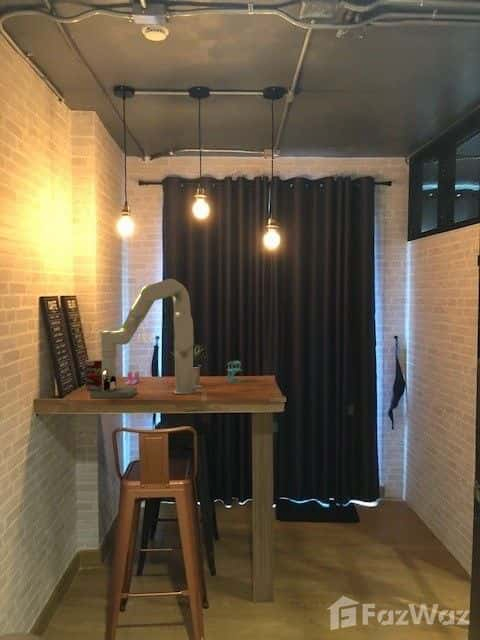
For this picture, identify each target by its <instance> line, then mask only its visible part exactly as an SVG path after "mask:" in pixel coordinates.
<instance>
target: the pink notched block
mask: <svg viewBox="0 0 480 640" xmlns="http://www.w3.org/2000/svg"><path fill="white" fill-rule="evenodd" d="M132 372H133V371H132V370H128V371H127V381H126V382H124V387H134V386H135V385H136V383H137V384H138V383H139V382H140V379H139V378H140V374H139V370H135V371H134V379H133V378H132V377H133V374H132Z"/></svg>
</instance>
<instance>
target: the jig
mask: <svg viewBox="0 0 480 640" xmlns="http://www.w3.org/2000/svg"><path fill="white" fill-rule="evenodd" d="M137 393H138V387H137V386H115V390H113V391H105V390H104V386H102V387H99V388H97V389H93V390H91V391H89V399H130V398H132V397H133V396H135V395H136V394H137Z"/></svg>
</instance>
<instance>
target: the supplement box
mask: <svg viewBox="0 0 480 640" xmlns="http://www.w3.org/2000/svg"><path fill="white" fill-rule="evenodd" d="M101 372H102V359H86V360H85V390H86V391H90V390H91V391H93V390H95V389H97V388H99V387H103V377H102V375H101Z"/></svg>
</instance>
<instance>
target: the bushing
mask: <svg viewBox="0 0 480 640" xmlns="http://www.w3.org/2000/svg"><path fill="white" fill-rule="evenodd" d="M109 382H110V389H109V390H105V391H113V390H115V387H116V386H115V381H110V380H109Z"/></svg>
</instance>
